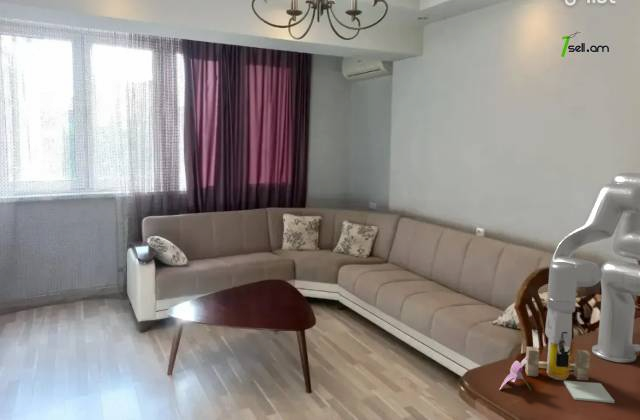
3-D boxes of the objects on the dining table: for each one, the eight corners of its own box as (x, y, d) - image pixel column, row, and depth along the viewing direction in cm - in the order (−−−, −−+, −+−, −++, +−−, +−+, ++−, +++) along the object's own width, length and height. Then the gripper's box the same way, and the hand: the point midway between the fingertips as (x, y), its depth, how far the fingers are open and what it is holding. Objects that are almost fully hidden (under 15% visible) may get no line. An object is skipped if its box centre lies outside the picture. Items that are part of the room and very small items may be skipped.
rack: (579, 368, 155) (581, 344, 154) (588, 380, 148) (590, 354, 147) (521, 364, 158) (523, 340, 157) (527, 375, 151) (528, 350, 150)
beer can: (571, 381, 147) (574, 333, 145) (549, 379, 148) (552, 331, 146) (565, 372, 153) (569, 325, 151) (544, 370, 154) (547, 323, 152)
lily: (518, 378, 151) (503, 350, 151) (553, 378, 142) (537, 348, 142) (499, 403, 144) (483, 374, 144) (534, 404, 135) (517, 373, 135)
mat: (600, 385, 145) (600, 383, 145) (614, 402, 135) (614, 400, 135) (563, 382, 147) (563, 380, 147) (574, 399, 137) (574, 397, 137)
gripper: (540, 294, 157) (536, 346, 159) (556, 313, 140) (551, 371, 142) (565, 295, 155) (561, 348, 158) (584, 314, 139) (580, 373, 141)
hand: (557, 359), depth 150 cm, fingers open, 9 cm apart
